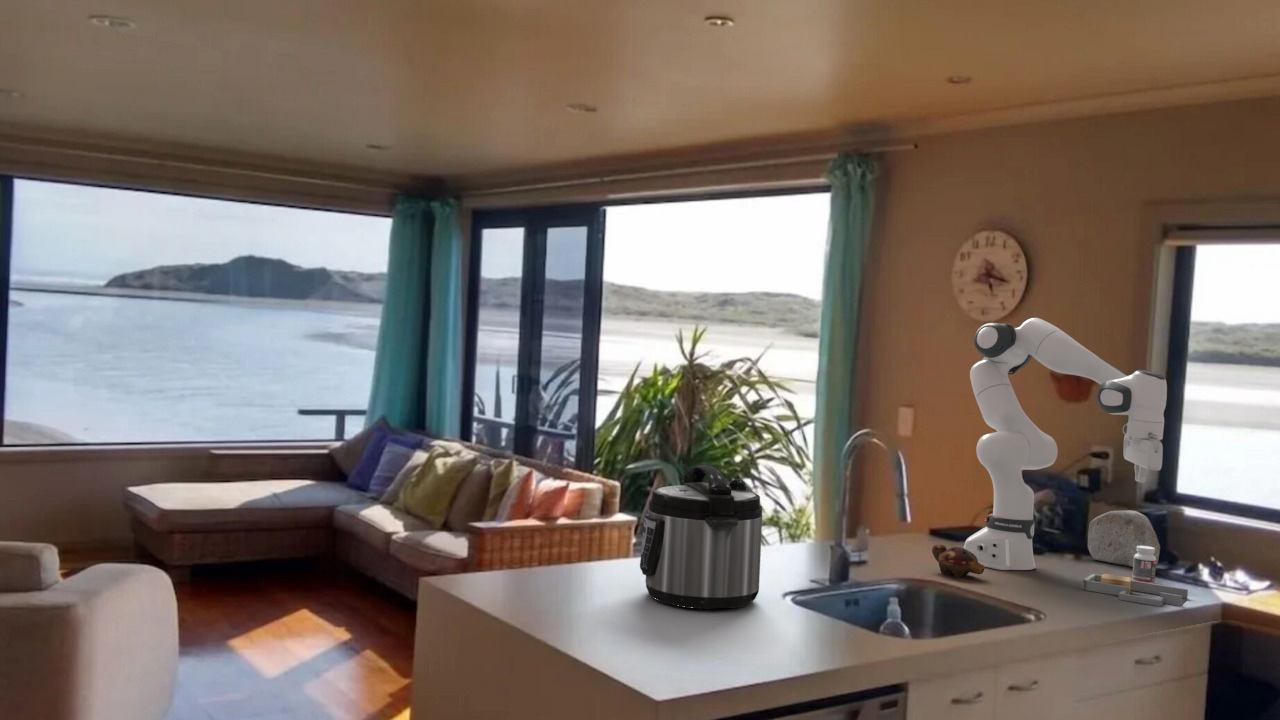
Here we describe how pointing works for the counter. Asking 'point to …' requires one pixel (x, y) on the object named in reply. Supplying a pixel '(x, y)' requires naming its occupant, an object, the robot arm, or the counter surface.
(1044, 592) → the counter surface
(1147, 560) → the pill bottle
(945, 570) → the decorative turtle
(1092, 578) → the channel
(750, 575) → the pressure cooker
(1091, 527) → the decorative stone
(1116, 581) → the oak block
